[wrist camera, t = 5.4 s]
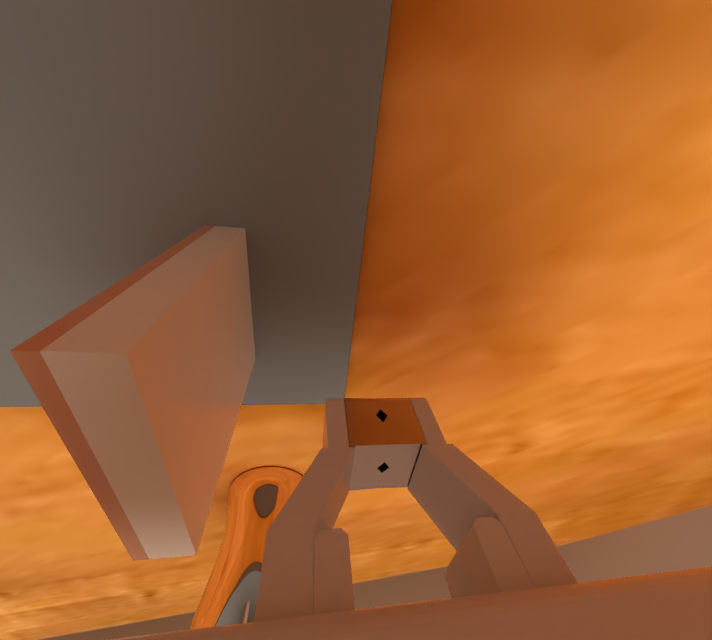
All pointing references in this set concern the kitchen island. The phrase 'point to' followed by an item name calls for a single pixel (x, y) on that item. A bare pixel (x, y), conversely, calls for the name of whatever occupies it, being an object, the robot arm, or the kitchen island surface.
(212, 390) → the tile
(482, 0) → the kitchen island surface
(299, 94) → the mat
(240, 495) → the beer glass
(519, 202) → the kitchen island surface
